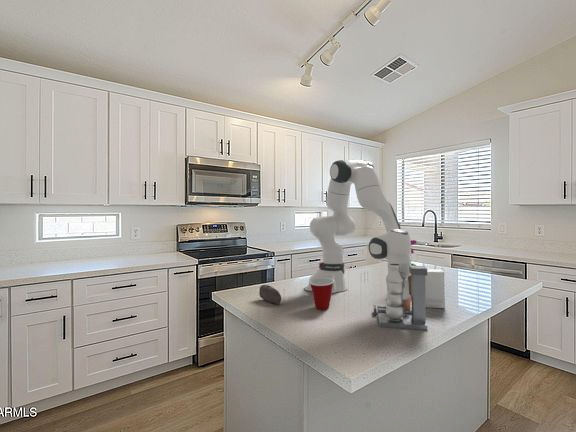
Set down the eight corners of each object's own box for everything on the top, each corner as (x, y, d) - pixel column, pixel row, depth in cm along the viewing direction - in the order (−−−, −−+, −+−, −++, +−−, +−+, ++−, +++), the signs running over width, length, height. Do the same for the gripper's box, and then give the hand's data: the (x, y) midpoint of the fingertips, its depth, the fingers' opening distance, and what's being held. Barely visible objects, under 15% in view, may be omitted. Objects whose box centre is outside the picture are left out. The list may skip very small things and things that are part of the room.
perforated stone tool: (285, 305, 136) (285, 289, 136) (275, 307, 133) (275, 291, 133) (267, 297, 149) (267, 283, 148) (258, 299, 146) (258, 285, 145)
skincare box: (442, 304, 134) (442, 269, 133) (445, 309, 127) (445, 272, 127) (422, 302, 136) (421, 268, 136) (423, 307, 130) (423, 271, 130)
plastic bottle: (382, 315, 115) (382, 263, 115) (400, 315, 116) (399, 262, 116) (390, 322, 109) (389, 266, 108) (408, 321, 109) (407, 265, 109)
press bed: (379, 326, 109) (378, 268, 109) (377, 316, 120) (377, 263, 120) (429, 330, 105) (428, 270, 105) (423, 319, 116) (422, 264, 116)
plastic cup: (304, 307, 132) (303, 280, 132) (321, 302, 139) (321, 276, 139) (322, 313, 124) (322, 284, 124) (339, 308, 131) (339, 280, 131)
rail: (373, 315, 121) (373, 308, 121) (373, 311, 126) (373, 305, 126) (425, 318, 117) (425, 311, 117) (423, 314, 121) (422, 308, 121)
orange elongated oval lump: (401, 313, 119) (401, 296, 119) (400, 310, 122) (400, 294, 122) (412, 313, 118) (412, 296, 118) (411, 311, 121) (410, 294, 121)
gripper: (413, 275, 110) (414, 313, 110) (402, 265, 130) (403, 297, 130) (395, 275, 111) (395, 313, 111) (387, 265, 131) (387, 297, 131)
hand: (399, 304), depth 121 cm, fingers closed, pressing on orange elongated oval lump
